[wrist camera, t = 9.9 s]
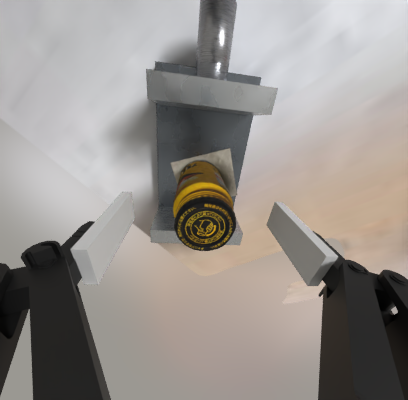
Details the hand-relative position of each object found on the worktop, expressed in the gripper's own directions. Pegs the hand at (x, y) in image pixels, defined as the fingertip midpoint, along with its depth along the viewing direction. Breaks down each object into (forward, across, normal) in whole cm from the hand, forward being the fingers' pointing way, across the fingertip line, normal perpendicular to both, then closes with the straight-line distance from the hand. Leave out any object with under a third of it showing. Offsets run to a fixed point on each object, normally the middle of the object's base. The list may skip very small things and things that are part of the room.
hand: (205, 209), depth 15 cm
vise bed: (+11, 0, +2) cm, 11 cm away
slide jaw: (+10, 0, +12) cm, 16 cm away
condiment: (+10, +1, -1) cm, 10 cm away
